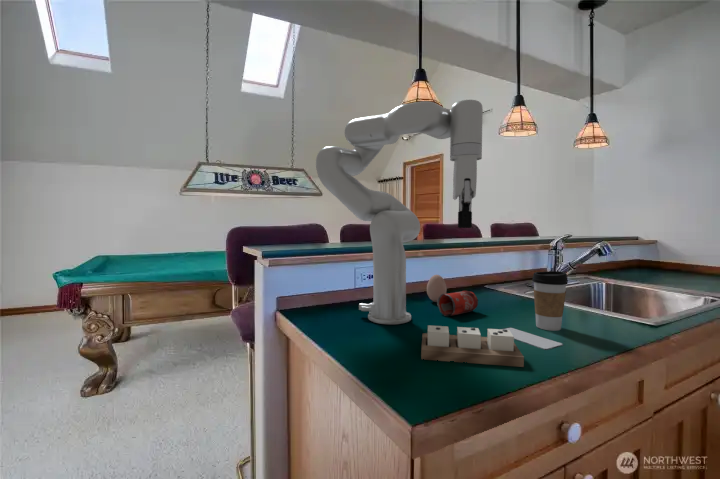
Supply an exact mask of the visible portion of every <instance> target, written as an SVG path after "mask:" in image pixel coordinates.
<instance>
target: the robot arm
mask: <svg viewBox="0 0 720 479" xmlns="http://www.w3.org/2000/svg"><path fill="white" fill-rule="evenodd" d="M483 111H484V110H483V105H482V103H481V101H480V100H479V101H478V100H477V99H463V100H458V101H457V102H454V103H453V104H452V106H451V108H446V107H443V106H441V105H440V104H438V103H436V102H434V101H429V100H428V101H427V100H422V101H421V100H420V101H415V102H409V103H404V104H400V105H399V106H396V107H394V108H393V109H392V110H390V111H389V112H386V113H380V114H376V115H370V116H363V117H358V118H354V119H352V120H350V121H349V122H348V123H347V124H346V126H344V137H345V139H346V141H347V142H348V143H349V144H350V145H351V146H353V149H350V148H346V147H342V146H334V145H331V146H329V145H328V146H325V147H323V148H321V149H320V150H319V151H318V153H317V155H316V159H315V170H316V174H317V177H318V179H319V180H320V182H321V184H322V185H323V186H324V187H325V189H327V191H328V192H329V193H330V194H332V195H333V196H334V197H335V198H336V199H337V200H338V201H339V202H340V203H341V204H342V205H344V207H346V208H347V209H348V211H350V212H351V213H352V214H353V215H355V217H356V218H358V220H360V221H363V222H370V223H369V224H370V225H369V235H370V240H371V244H372V245H371V246H372V263H373V264H372V266H373V267H372V268H373V272H372V273H373V274H372V275H373V276H372V277H373V280H372V281H373V282H372V284H373V286H372V287H373V288H372V290H373V292H372V294H373V297H372V298H373V299H372V300H373V301H372V302H370V303H363V302H361V303H359V304H358V310H359V311H361V312H369V313H368V314H367V319H368V320H369V322H370V321H371V322H373V323H376V324H381V325H401V324H405V323H408V322H410V321H411V320H412V315H411V313H410V312H407V306H406V305H407V257H406V256H407V255H406V250H405V247H404V243H406V242H411V241H413V240H415V239H416V238H417V237H418V236H419V234H420V231H421V223H420V220H419V218H418V216H417V215H416V214H415V213H414V212H413V211H412V210H411V209H409V208H408V207H407V206H406V205H405V204H403V203H402V202H401V201H400V200H398V199H397V198H396V197H395V196H394V195H392V194H391V193H388V192H385V191H380V190H373V189H369V188H368V187H366V186H365V185H364V184H362V183H361V182H360V181H359V180H358V179H357V178H355V177H354V176H358V175H360V174H362V173H363V172H364V171H365V170H366V168H367V167H368V166H369V165H370V164H371V162H373V160H374V159H375V157H377V156H378V154H379V153H380V152H381V151H382V149H383V148H384V146H387V145H394V144H396V143H398V141H399V139H400V136H403V135H411V134H419V133H421V134H424V135H427V136H430V137H432V138H435V139H437V140H446V139H450V140H449V141H450V142H449V143H450V145H449V149H450V150H449V153H450V154H449V157H450V158H449V160H450V161H451V162H453V174H452V175H453V179H452V180H453V185H452V186H453V187H452V199H453V200H454V201H456V200H457V199H458V212H457V228H460V229H472V227H473V225H472V224H473V211H472V202H473V199H474V198H476V195H477V178H478V177H477V176H478V172H477V171H478V170H477V169H478V167H477V166H478V161H480V160H482V159H483Z"/></svg>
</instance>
